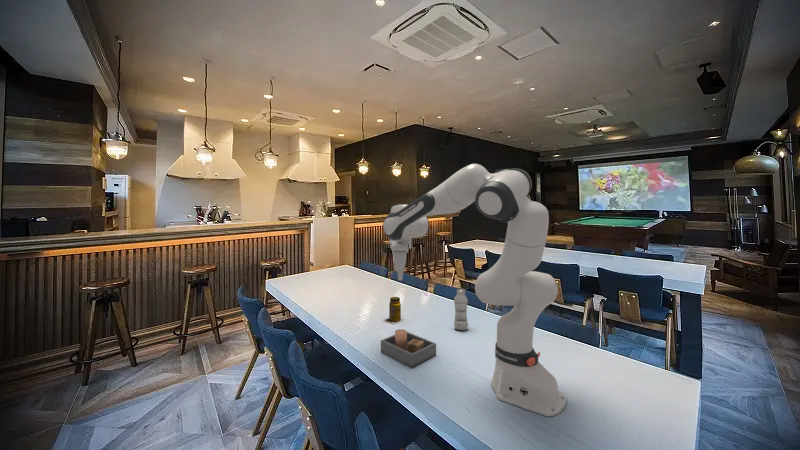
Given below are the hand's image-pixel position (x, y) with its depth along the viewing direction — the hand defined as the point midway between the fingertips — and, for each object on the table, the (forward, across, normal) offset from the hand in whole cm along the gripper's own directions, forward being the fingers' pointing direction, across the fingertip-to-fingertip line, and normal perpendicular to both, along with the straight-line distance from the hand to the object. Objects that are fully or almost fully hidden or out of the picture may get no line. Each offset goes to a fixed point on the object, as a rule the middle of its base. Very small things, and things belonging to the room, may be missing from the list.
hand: (400, 277), depth 127 cm
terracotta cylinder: (+30, 0, 0) cm, 30 cm away
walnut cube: (+30, +5, +6) cm, 31 cm away
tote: (+31, +3, +3) cm, 31 cm away
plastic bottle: (+31, -23, +28) cm, 48 cm away
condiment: (+31, -34, -6) cm, 46 cm away
